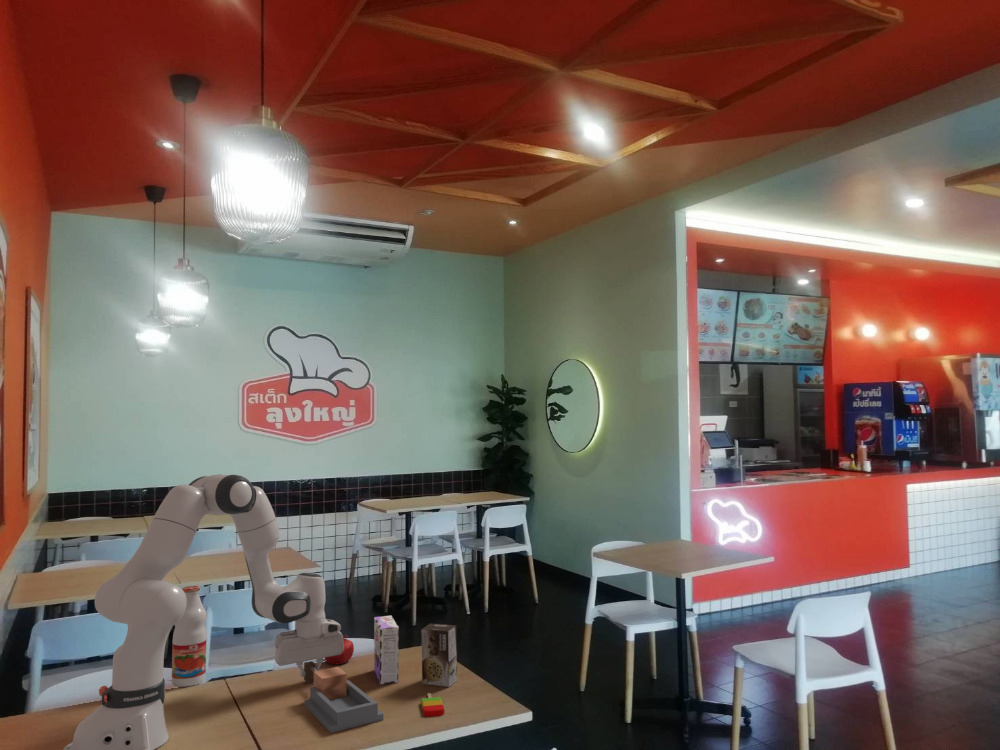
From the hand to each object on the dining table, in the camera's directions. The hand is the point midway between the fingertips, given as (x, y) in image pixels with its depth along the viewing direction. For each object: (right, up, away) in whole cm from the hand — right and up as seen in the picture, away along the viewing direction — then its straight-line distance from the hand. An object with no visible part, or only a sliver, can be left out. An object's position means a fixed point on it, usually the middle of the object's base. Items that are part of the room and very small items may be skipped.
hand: (309, 674), depth 207 cm
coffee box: (+39, -2, -1) cm, 39 cm away
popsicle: (+38, -1, -19) cm, 43 cm away
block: (+5, -1, -8) cm, 10 cm away
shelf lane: (+15, 0, -23) cm, 28 cm away
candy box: (+22, -3, +4) cm, 23 cm away
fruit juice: (-37, -3, +1) cm, 37 cm away
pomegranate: (+4, -4, +19) cm, 20 cm away
